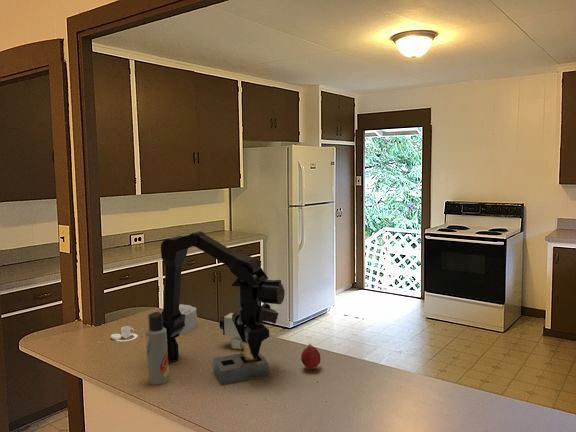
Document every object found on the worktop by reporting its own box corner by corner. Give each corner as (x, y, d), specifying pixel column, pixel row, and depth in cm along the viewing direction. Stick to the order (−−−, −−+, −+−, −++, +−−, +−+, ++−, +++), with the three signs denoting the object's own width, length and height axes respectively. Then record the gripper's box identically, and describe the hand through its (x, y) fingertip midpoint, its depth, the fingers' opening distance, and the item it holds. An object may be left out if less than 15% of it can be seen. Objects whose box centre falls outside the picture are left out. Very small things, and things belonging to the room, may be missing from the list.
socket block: (221, 384, 138) (220, 371, 138) (213, 370, 148) (213, 358, 147) (268, 375, 143) (268, 362, 143) (258, 362, 153) (257, 350, 152)
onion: (323, 367, 148) (323, 341, 147) (316, 375, 143) (316, 348, 142) (305, 364, 151) (305, 339, 150) (298, 371, 146) (297, 345, 145)
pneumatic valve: (250, 352, 161) (249, 316, 159) (220, 347, 166) (218, 313, 164) (258, 346, 166) (257, 311, 164) (228, 341, 171) (227, 308, 169)
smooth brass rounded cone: (246, 375, 144) (245, 345, 143) (242, 370, 148) (241, 341, 147) (259, 373, 145) (258, 343, 144) (255, 367, 149) (254, 339, 148)
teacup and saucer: (108, 341, 175) (107, 330, 174) (120, 333, 182) (119, 323, 182) (130, 343, 173) (129, 332, 172) (141, 335, 180) (141, 324, 180)
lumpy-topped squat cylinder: (200, 325, 188) (199, 303, 187) (180, 337, 176) (179, 313, 175) (178, 322, 192) (176, 301, 191) (157, 334, 180) (155, 311, 179)
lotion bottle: (172, 377, 144) (169, 311, 141) (161, 386, 138) (157, 317, 136) (156, 375, 146) (152, 309, 143) (144, 383, 140) (140, 315, 138)
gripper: (286, 306, 138) (287, 359, 140) (265, 290, 155) (266, 337, 157) (247, 311, 134) (249, 366, 136) (230, 294, 152) (232, 343, 153)
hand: (250, 352), depth 146 cm, fingers open, 9 cm apart
